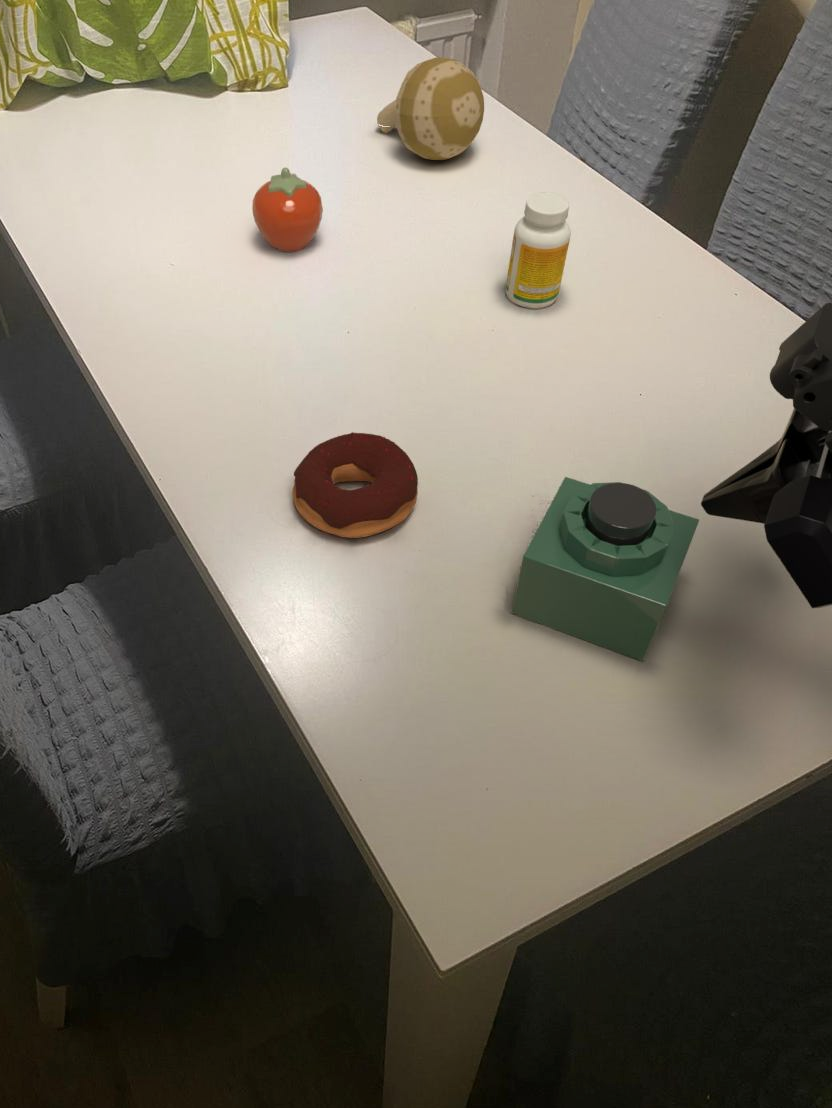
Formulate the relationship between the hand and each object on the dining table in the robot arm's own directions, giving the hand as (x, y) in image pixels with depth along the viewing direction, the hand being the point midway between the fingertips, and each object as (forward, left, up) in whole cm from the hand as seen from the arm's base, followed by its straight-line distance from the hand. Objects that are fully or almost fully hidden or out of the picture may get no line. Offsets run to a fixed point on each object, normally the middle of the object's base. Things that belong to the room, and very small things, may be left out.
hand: (704, 505), depth 60 cm
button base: (+4, -2, -11) cm, 12 cm away
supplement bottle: (+4, -42, -12) cm, 44 cm away
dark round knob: (+4, -2, -4) cm, 6 cm away
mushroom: (+13, -74, -12) cm, 76 cm away
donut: (+22, -12, -12) cm, 28 cm away
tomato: (+29, -52, -11) cm, 61 cm away
